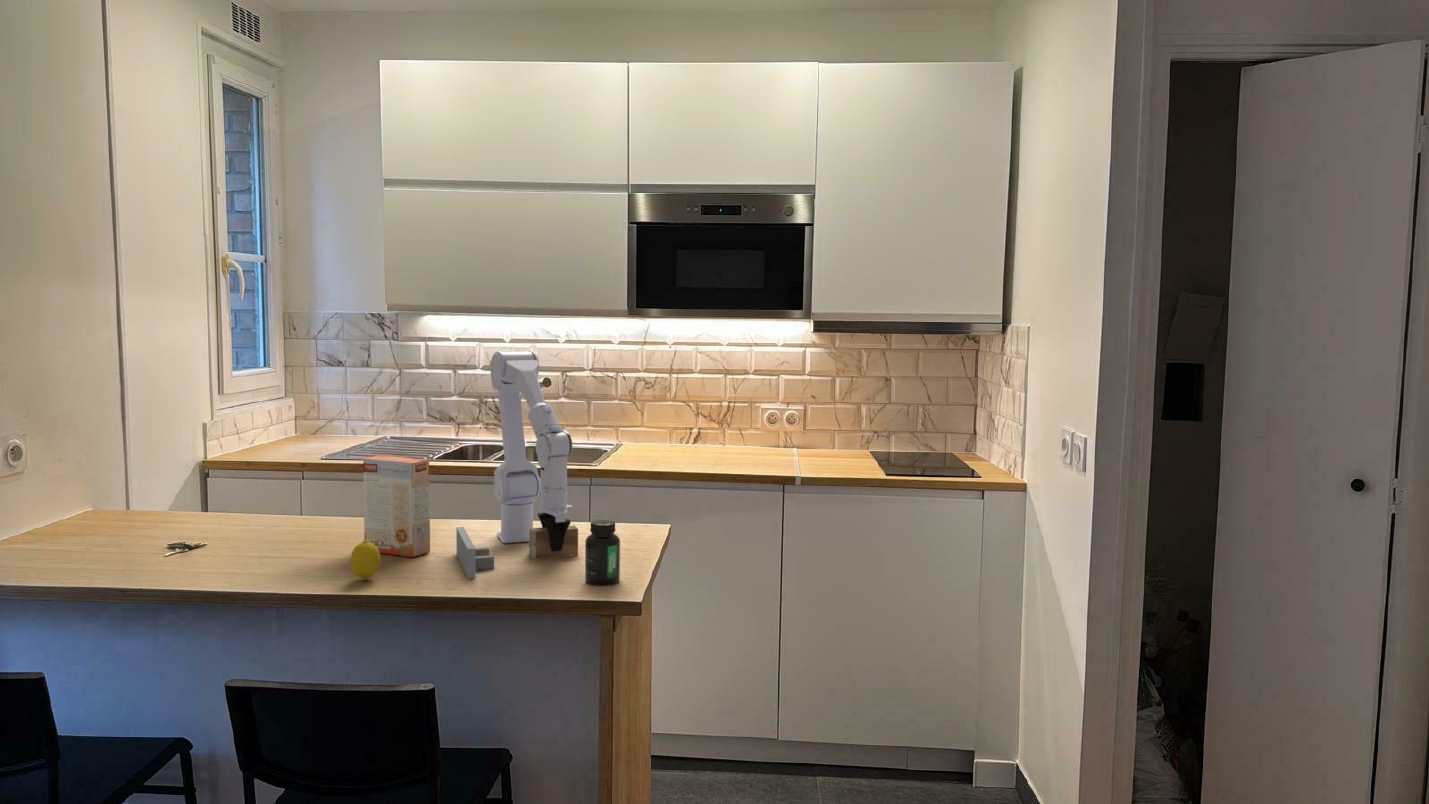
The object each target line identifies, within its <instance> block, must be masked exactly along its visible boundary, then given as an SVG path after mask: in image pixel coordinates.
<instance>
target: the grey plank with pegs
mask: <svg viewBox="0 0 1429 804" xmlns="http://www.w3.org/2000/svg"><path fill="white" fill-rule="evenodd" d="M455 532H456V556H457V558H458V561H459V562H460V564H461V567H462V569H463V571H464V573H465V575H466V577H468V578H469V579H475V578H476V577H477V576H476V571H480V570H479V569H484V570H495V556H494V554H491V555H490V547H485V546H484V547H475V545H474V544H473V542H472V540H471V538H470V536H469V534H468V533H467V531H466V529H465V527H464V526H457V527H456V531H455ZM468 578H467V579H468ZM476 579H477V578H476Z"/></svg>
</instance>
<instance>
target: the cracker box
mask: <svg viewBox="0 0 1429 804" xmlns="http://www.w3.org/2000/svg"><path fill="white" fill-rule="evenodd" d="M362 462H363V463H362V466H363V470H362V471H363V474H362V475H363V477H362V478H363V525H364V526H363V528H364V529H363V533H364V534H363V535H364V537H363V541H364V540H367V541H368V542H370V543H373V544H374V545H375V546H376V547H377V548H378V550H379V553H380V554H386V555H387V554H388V555H394V556H401V557H405V558H416V557H418V556H422V555H425V554H428V553H430V552H431V539H430V538H431V537H430V536H431V528H430V526H431V525H430V524H431V523H430V522H431V521H430V520H431V518H430V516H431V513H430V510H431V509H430V508H431V507H430V459H422V458H412V457H402V456H392V455H373V456H371V457H364V458H363V459H362Z"/></svg>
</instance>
